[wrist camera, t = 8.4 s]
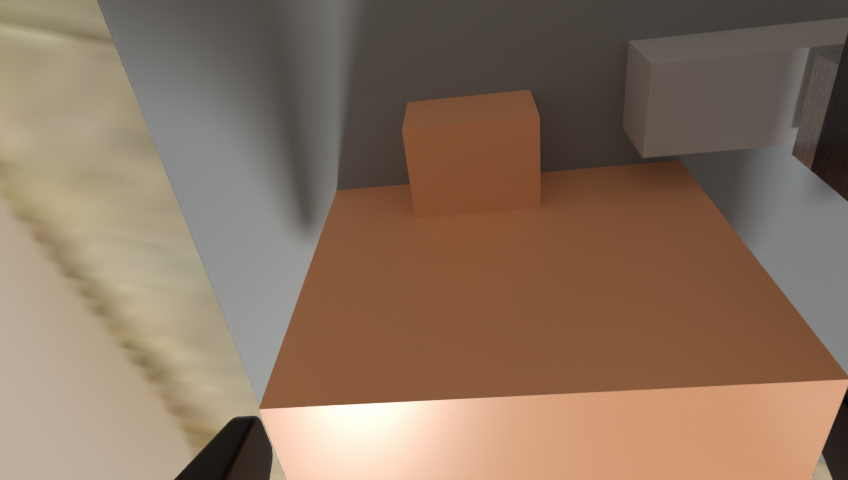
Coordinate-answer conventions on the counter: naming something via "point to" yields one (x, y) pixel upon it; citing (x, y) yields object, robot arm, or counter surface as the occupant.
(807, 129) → the latch bolt
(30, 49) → the counter surface
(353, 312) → the cover
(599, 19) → the latch plate
